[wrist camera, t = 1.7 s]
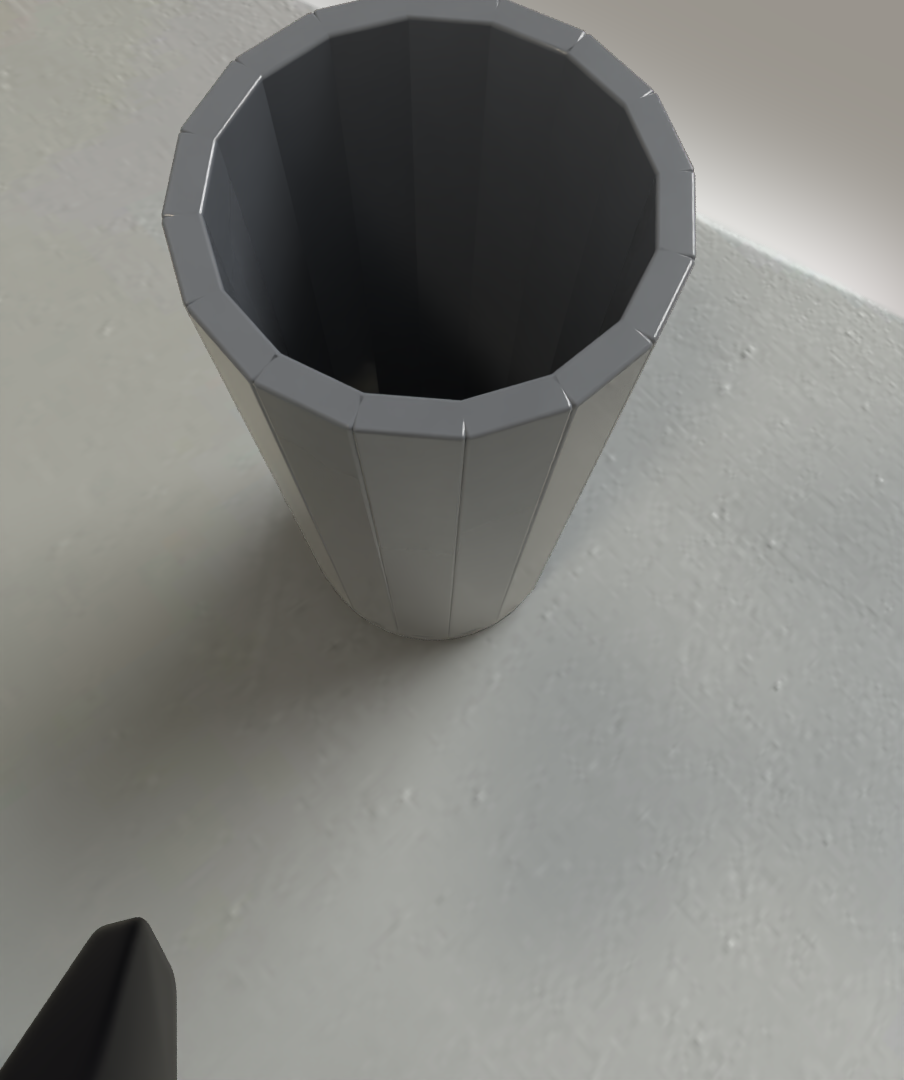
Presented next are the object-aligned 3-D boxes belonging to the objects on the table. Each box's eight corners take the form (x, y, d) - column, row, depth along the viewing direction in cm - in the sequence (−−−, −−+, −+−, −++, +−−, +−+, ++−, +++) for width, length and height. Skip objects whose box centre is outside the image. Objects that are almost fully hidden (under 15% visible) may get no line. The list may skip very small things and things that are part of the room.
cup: (588, 476, 23) (773, 103, 10) (487, 683, 21) (562, 533, 9) (385, 381, 24) (330, -75, 11) (271, 573, 22) (56, 289, 9)
